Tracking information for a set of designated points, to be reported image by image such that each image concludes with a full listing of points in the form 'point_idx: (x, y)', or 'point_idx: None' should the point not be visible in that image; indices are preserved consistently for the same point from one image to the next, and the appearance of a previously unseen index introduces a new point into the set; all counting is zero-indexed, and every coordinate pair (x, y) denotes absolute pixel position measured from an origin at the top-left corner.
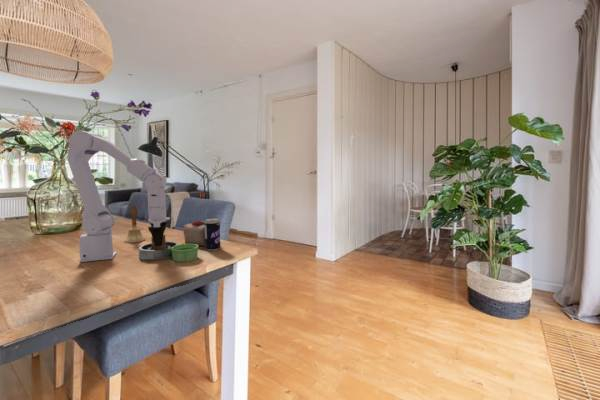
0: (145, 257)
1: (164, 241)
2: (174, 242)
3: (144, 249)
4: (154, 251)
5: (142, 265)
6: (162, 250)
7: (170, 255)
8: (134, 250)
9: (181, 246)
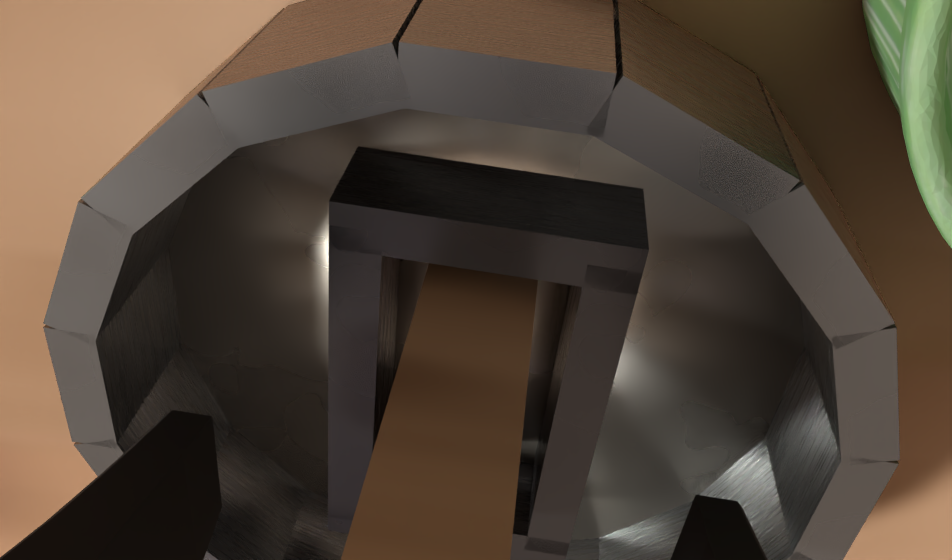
0: None
1: (516, 455)
2: (253, 125)
3: (319, 545)
4: (837, 552)
5: (926, 555)
6: (888, 449)
7: (843, 220)
8: (30, 529)
9: (950, 30)
